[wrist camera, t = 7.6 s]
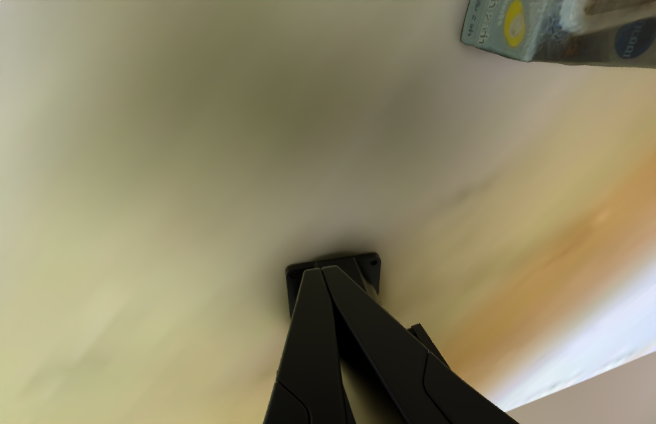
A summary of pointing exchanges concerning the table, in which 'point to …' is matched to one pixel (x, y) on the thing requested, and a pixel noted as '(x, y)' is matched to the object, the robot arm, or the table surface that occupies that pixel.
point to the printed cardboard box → (565, 31)
